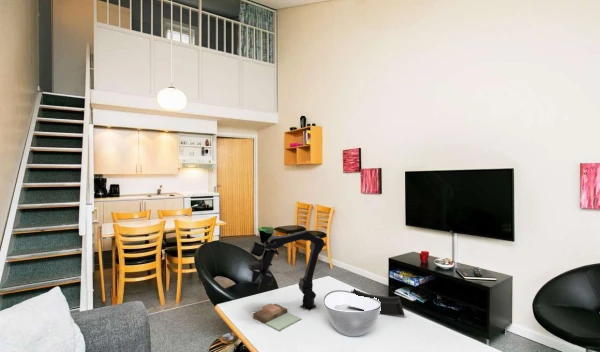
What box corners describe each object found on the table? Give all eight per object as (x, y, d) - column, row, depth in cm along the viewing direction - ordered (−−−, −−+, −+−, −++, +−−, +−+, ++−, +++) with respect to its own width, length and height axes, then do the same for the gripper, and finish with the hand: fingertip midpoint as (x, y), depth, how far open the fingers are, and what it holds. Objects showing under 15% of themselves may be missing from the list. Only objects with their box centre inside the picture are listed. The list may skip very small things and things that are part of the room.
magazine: (409, 299, 161) (355, 276, 170) (409, 301, 158) (354, 278, 167) (398, 328, 163) (345, 304, 172) (398, 331, 160) (344, 306, 169)
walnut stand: (275, 308, 168) (275, 303, 168) (287, 313, 162) (287, 308, 162) (252, 318, 156) (253, 313, 156) (264, 324, 150) (264, 319, 150)
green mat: (287, 313, 161) (287, 312, 161) (301, 319, 155) (301, 318, 155) (265, 324, 149) (265, 323, 149) (279, 331, 143) (279, 330, 143)
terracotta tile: (270, 307, 163) (270, 303, 163) (280, 311, 158) (280, 307, 158) (261, 310, 159) (261, 306, 159) (272, 315, 153) (272, 311, 153)
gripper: (247, 250, 167) (236, 277, 165) (260, 261, 151) (248, 292, 149) (264, 255, 172) (253, 281, 171) (279, 267, 156) (267, 296, 154)
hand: (255, 287), depth 161 cm, fingers open, 9 cm apart
